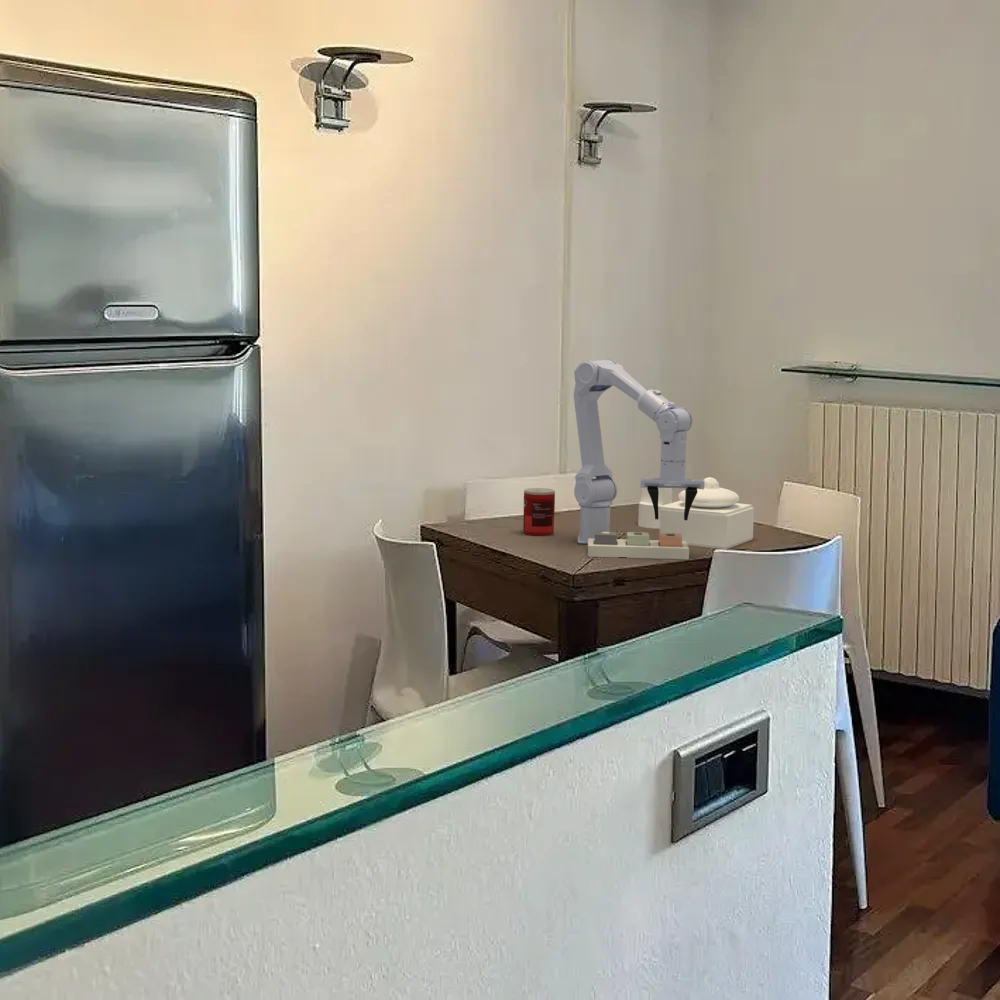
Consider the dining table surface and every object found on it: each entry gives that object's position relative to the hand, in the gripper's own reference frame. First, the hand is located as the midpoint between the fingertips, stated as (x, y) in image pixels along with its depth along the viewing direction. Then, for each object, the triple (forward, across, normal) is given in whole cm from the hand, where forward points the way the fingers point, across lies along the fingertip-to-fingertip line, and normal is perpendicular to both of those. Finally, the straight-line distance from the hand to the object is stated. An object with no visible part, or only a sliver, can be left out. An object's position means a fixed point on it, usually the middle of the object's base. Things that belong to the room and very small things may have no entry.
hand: (671, 519), depth 316 cm
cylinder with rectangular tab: (+9, -2, +42) cm, 43 cm away
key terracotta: (+7, 0, 0) cm, 7 cm away
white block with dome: (+9, +10, +22) cm, 25 cm away
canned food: (+9, -32, +25) cm, 41 cm away
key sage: (+7, -8, 0) cm, 10 cm away
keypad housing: (+8, -8, 0) cm, 11 cm away
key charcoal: (+7, -15, 0) cm, 17 cm away
